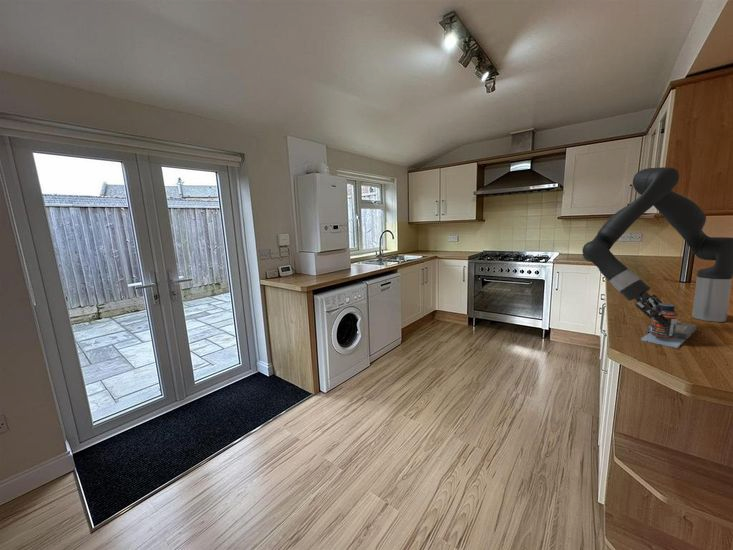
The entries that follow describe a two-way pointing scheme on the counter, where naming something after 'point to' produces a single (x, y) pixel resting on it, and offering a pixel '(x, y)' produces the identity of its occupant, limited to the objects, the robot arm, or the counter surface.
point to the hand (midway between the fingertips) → (671, 323)
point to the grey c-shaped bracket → (686, 330)
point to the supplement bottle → (670, 315)
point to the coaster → (663, 340)
